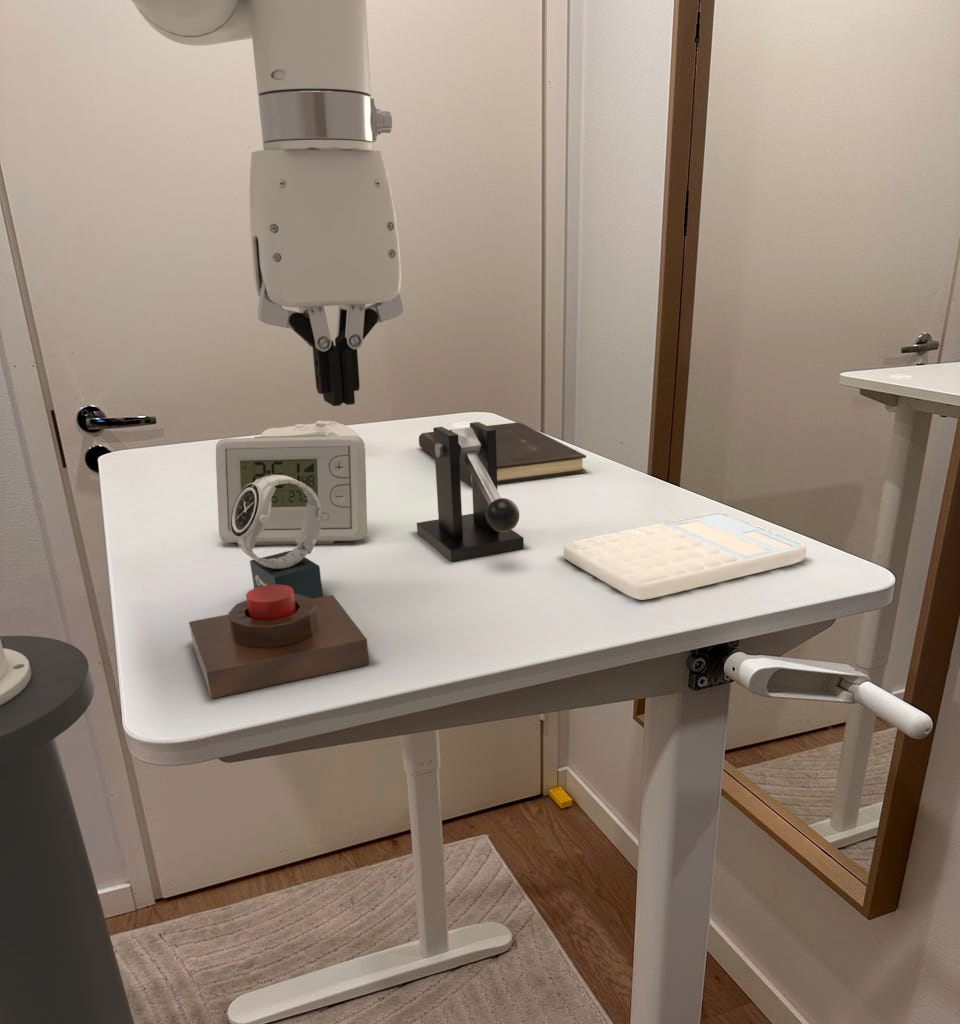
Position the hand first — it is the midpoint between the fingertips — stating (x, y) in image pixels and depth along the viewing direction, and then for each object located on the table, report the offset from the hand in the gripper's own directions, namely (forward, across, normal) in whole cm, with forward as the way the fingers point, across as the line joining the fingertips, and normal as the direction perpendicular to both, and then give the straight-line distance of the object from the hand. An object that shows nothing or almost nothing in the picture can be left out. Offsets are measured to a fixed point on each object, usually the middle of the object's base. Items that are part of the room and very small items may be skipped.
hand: (339, 401), depth 69 cm
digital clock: (+19, -1, -25) cm, 31 cm away
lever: (+12, -17, -11) cm, 23 cm away
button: (+15, +7, +3) cm, 17 cm away
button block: (+19, +7, +3) cm, 20 cm away
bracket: (+18, -17, -14) cm, 29 cm away
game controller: (+19, -12, -61) cm, 65 cm away
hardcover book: (+18, -34, -43) cm, 58 cm away
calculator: (+18, -33, +1) cm, 37 cm away
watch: (+19, +4, -9) cm, 21 cm away
